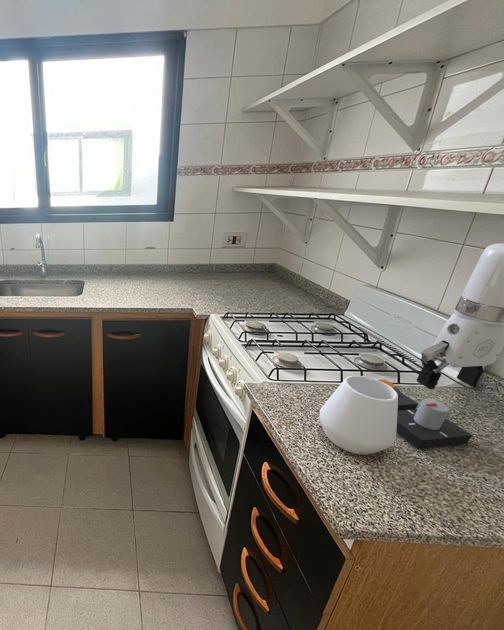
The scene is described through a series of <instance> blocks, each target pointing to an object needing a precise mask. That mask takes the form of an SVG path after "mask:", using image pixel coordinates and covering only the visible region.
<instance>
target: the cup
mask: <svg viewBox="0 0 504 630" xmlns="http://www.w3.org/2000/svg"><path fill="white" fill-rule="evenodd" d="M378 380H379V379H376V378H373V377H369V376H364V375H355V374H354V375H349V376H346V378H344V380H343V381H342V382H341V383H340V384H339V385H338V387H337V388H336V389H335V390H334V392H333V393H332V394H331V395H330V396H329V397H328V399H327V400H326V401H325V402H324V404H323V405H322V406H321V407H320V409H319V422H320V424H321V427H322V430H323V432H324V433H325V435H326V437H327V438H328V440H329V441H331V443H333V444H334V445H335V446H336V447H338V448H340V449H342V450H344V451H346V452H349V453H351V454H355V455H362V456H368V455H372V454H375V453H378V452H382V451H384V450H387V449H389V448H390V447H391V446H392V445H393V444H394V443H395V441H396V440H397V433H396V430H397V410H398V395H397V392H396V391H395V390H394V389H393V388H392V387H390V386H388V385H387V384H385V383H383V382H381V381H378Z"/></svg>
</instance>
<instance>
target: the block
mask: <svg viewBox="0 0 504 630" xmlns="http://www.w3.org/2000/svg"><path fill="white" fill-rule="evenodd" d="M394 390H395V391H396V392H397V395H398V410H397V411H402V410H412V409H418V407H419V403H418V402H417V401H415V400H414V399H412V398H410V397H409V396H408V395H406V394H405V393H403V392H401V390H400V388H398V387H397V386H395V389H394Z"/></svg>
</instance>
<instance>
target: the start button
mask: <svg viewBox="0 0 504 630" xmlns="http://www.w3.org/2000/svg"><path fill="white" fill-rule="evenodd" d="M377 380H378V381H381V382H383V383H385V384H387V385H388V386H390V387H392V388H393V389H395V387H396V384H394V383H393V382H391V381H389V380H387V379H386V380H385V379H377Z"/></svg>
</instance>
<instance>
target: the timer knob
mask: <svg viewBox="0 0 504 630" xmlns="http://www.w3.org/2000/svg"><path fill="white" fill-rule="evenodd" d="M417 409H418V410H417V412H416V414H415V416H414V418H413V419H414V421H415V422H416V423H418V424H419V425H421V426H423V427H425V428H428V429H432V430H438V429H440V427H441V425H442V423H443V421H444V419H445V418H446V417H447V416H448V414H449V412H450V408H449V406H448V405H447V404H445V403H443V402H441V401H438V400H436V399H432V398H423V399H422V400H421V402H420V404H419V405H418V407H417ZM446 419H447V418H446Z"/></svg>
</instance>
